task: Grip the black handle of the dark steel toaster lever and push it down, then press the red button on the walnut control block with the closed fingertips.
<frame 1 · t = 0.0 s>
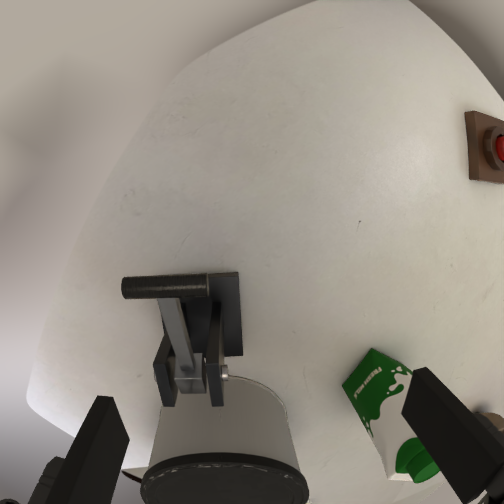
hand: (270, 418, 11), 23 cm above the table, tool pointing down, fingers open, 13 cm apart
milk carton: (372, 374, 39), on the table
container: (223, 422, 39), on the table
toaster lever: (180, 341, 20), point 14 cm above the table, hinge at 25.0°
cup: (299, 499, 46), on the table
control block: (485, 149, 33), on the table
toaster bracket: (201, 315, 34), on the table
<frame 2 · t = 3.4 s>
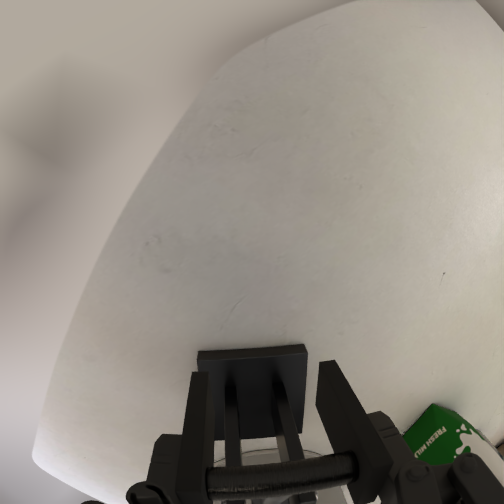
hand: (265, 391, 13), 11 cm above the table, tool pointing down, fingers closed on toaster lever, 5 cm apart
milk carton: (427, 426, 30), on the table
container: (266, 487, 30), on the table
toaster lever: (273, 493, 11), point 14 cm above the table, hinge at 25.0°, touching gripper
toaster bracket: (253, 393, 26), on the table
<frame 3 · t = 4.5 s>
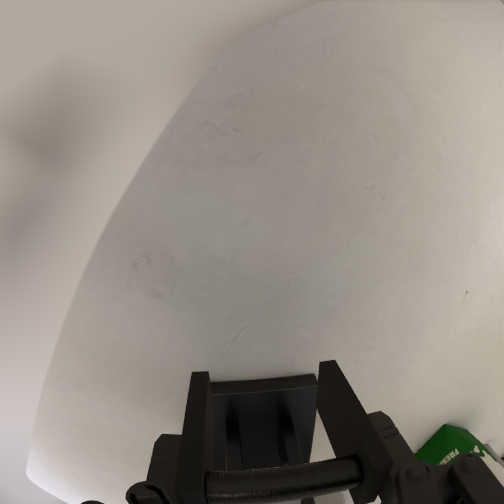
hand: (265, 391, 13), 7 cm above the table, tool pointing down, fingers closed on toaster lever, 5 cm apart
milk carton: (437, 445, 27), on the table
toaster bracket: (257, 424, 22), on the table
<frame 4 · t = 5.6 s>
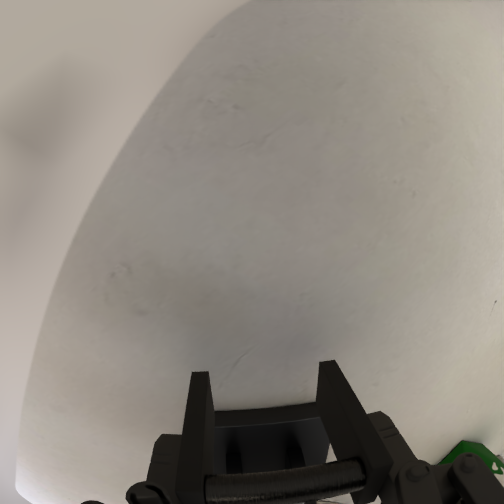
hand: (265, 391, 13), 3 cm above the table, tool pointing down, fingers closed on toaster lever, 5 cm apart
milk carton: (452, 461, 23), on the table
toaster bracket: (262, 454, 18), on the table
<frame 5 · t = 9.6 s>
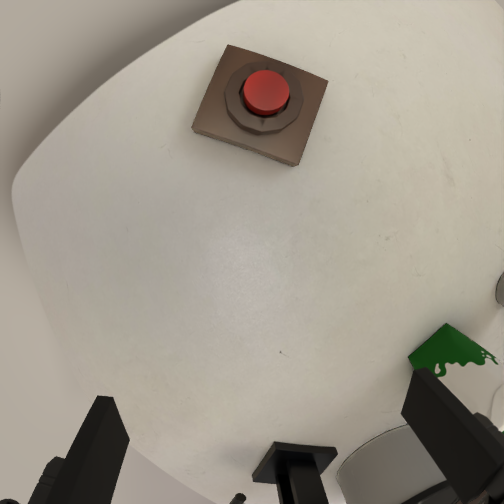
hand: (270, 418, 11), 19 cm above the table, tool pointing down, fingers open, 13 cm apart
milk carton: (433, 353, 34), on the table
container: (385, 459, 39), on the table
cancel button: (265, 92, 22), point 4 cm above the table, slide at 0.1 cm
control block: (260, 106, 26), on the table
toaster bracket: (293, 462, 37), on the table
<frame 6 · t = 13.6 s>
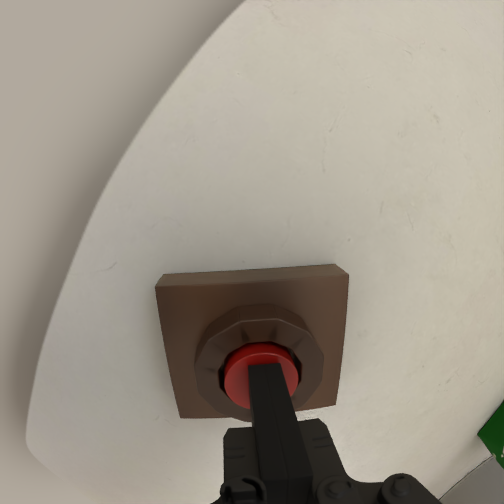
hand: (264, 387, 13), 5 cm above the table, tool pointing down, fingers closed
milk carton: (501, 414, 25), on the table
container: (470, 484, 30), on the table
cancel button: (260, 373, 14), point 4 cm above the table, slide at -0.7 cm, touching gripper
control block: (253, 339, 18), on the table
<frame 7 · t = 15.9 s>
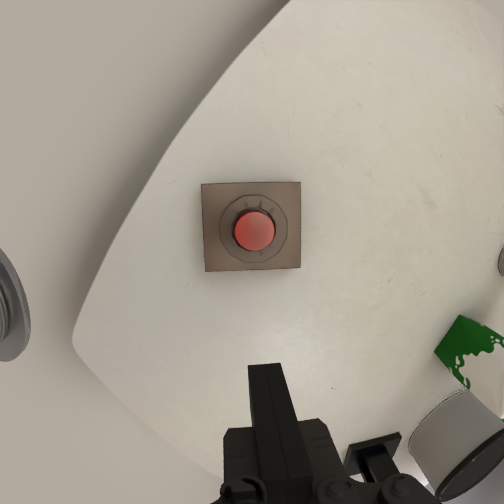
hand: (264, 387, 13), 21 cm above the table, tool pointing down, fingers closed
milk carton: (456, 340, 39), on the table
container: (444, 424, 44), on the table
cancel button: (254, 230, 28), point 4 cm above the table, slide at 0.1 cm
control block: (251, 224, 33), on the table
toaster bracket: (369, 453, 43), on the table
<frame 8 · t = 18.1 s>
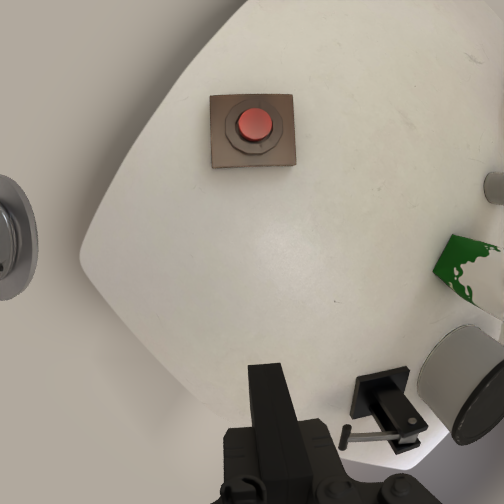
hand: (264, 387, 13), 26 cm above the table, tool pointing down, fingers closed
milk carton: (452, 262, 42), on the table
container: (452, 365, 47), on the table
toaster lever: (379, 436, 35), point 11 cm above the table, hinge at -15.8°
cancel button: (254, 124, 31), point 4 cm above the table, slide at 0.1 cm
lotion bottle: (491, 187, 40), on the table
control block: (251, 131, 36), on the table
toaster bracket: (378, 391, 46), on the table
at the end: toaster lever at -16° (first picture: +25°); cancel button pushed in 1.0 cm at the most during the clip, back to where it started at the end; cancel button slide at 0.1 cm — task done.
